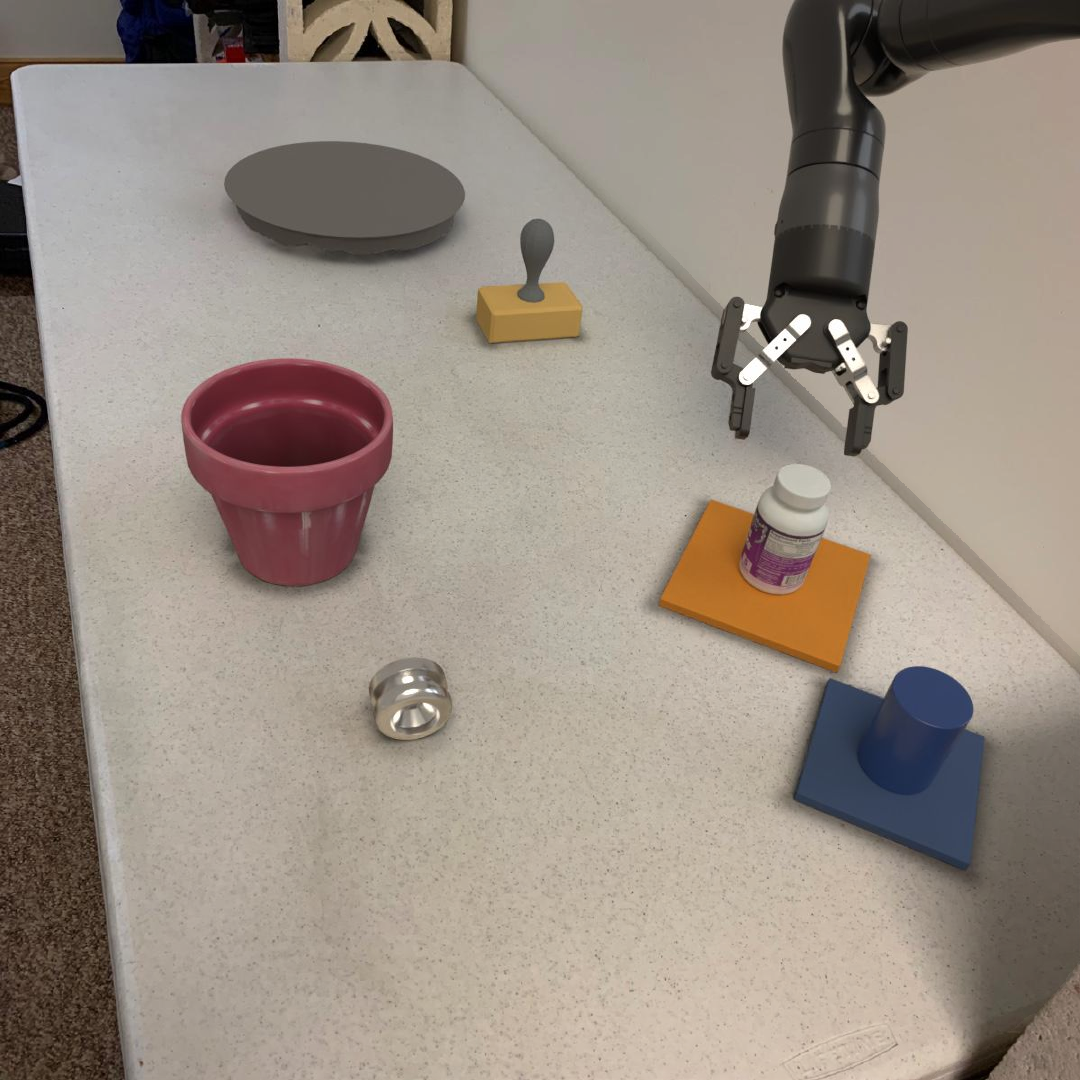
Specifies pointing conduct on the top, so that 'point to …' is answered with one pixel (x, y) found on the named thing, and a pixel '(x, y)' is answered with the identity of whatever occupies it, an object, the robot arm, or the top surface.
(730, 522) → the amber mat
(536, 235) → the rubber stamp
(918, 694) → the blue tin
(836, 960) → the top surface
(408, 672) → the grooved metal pulley
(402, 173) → the flat disc
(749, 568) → the pill bottle
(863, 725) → the blue mat
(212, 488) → the flower pot
